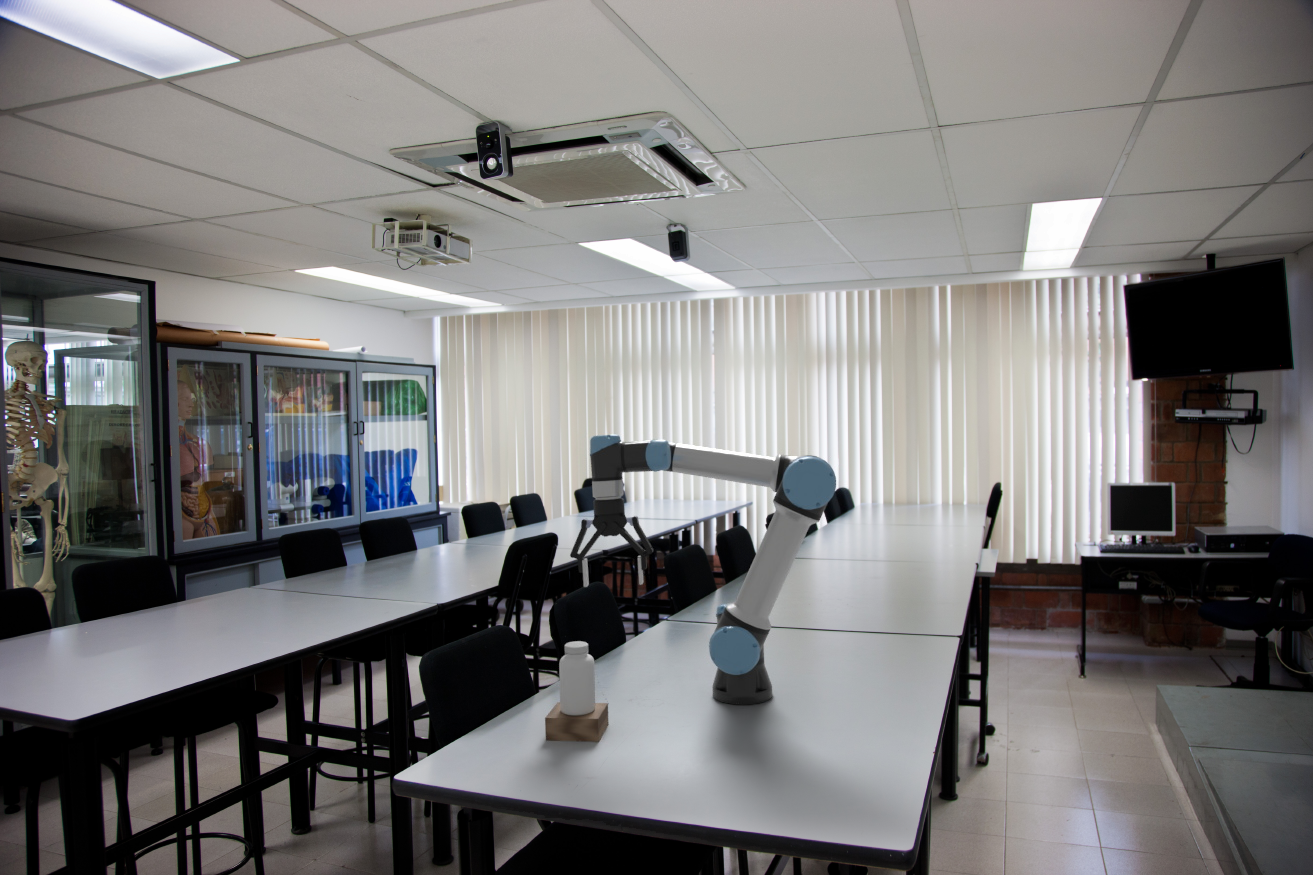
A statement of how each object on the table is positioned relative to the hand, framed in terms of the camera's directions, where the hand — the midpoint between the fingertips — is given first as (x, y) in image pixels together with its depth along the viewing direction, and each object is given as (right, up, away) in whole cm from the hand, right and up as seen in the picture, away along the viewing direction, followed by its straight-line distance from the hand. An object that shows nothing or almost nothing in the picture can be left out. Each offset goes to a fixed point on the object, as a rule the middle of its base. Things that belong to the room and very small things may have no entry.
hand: (613, 584), depth 186 cm
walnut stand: (-7, -31, -14) cm, 34 cm away
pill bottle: (-7, -26, -14) cm, 30 cm away
